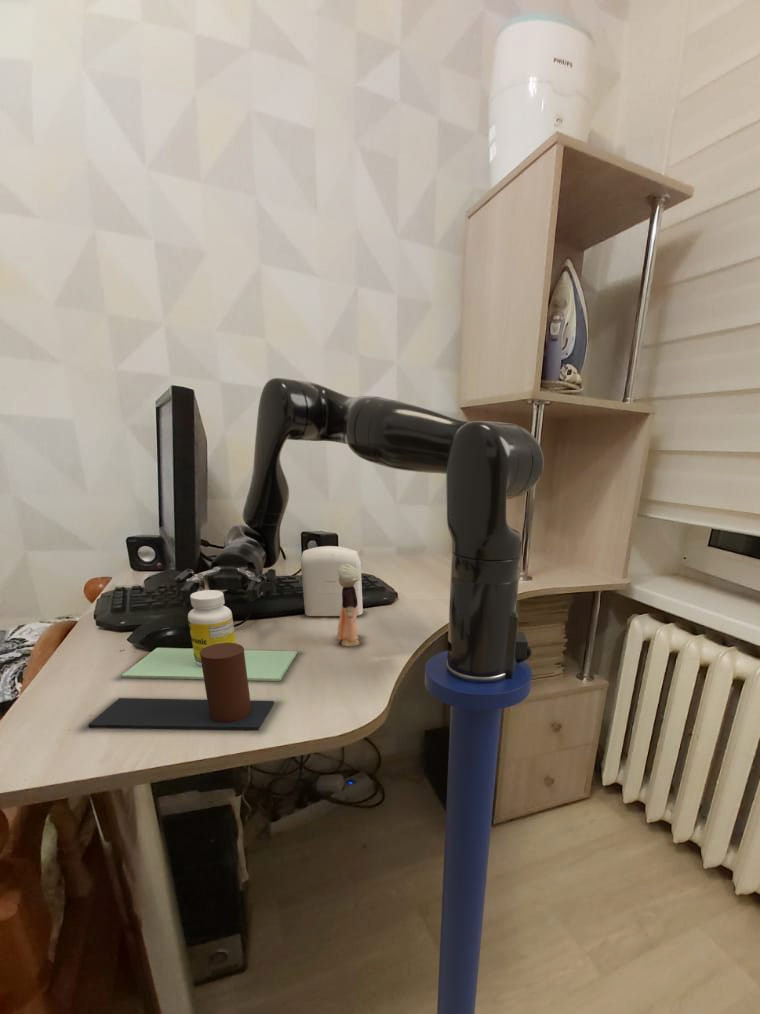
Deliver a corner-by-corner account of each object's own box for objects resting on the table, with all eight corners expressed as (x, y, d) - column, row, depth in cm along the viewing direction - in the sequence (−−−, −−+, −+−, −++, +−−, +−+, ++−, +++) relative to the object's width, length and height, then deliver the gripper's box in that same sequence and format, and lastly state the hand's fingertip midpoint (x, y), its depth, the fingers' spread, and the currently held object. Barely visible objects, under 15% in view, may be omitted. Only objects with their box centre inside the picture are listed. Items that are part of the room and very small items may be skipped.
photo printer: (302, 617, 91) (297, 548, 86) (306, 609, 95) (301, 543, 90) (362, 618, 93) (360, 550, 88) (363, 610, 97) (361, 544, 92)
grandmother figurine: (334, 634, 85) (330, 559, 80) (357, 632, 86) (355, 558, 81) (341, 653, 78) (338, 572, 73) (367, 650, 80) (365, 571, 75)
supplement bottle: (189, 659, 72) (177, 592, 69) (228, 649, 76) (219, 585, 72) (204, 672, 69) (193, 603, 65) (244, 661, 73) (236, 595, 69)
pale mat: (297, 653, 77) (297, 651, 77) (279, 681, 69) (279, 678, 69) (157, 650, 75) (156, 647, 75) (122, 677, 67) (121, 675, 67)
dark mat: (274, 703, 63) (273, 700, 63) (258, 730, 58) (257, 727, 58) (120, 700, 62) (119, 697, 62) (88, 727, 56) (87, 724, 56)
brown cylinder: (256, 703, 62) (249, 643, 59) (243, 723, 58) (235, 659, 55) (218, 703, 62) (209, 642, 59) (203, 722, 58) (192, 657, 55)
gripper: (190, 545, 87) (161, 571, 73) (280, 546, 91) (268, 571, 76) (197, 588, 90) (169, 620, 75) (283, 587, 93) (273, 618, 79)
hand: (219, 595), depth 76 cm, fingers open, 8 cm apart
